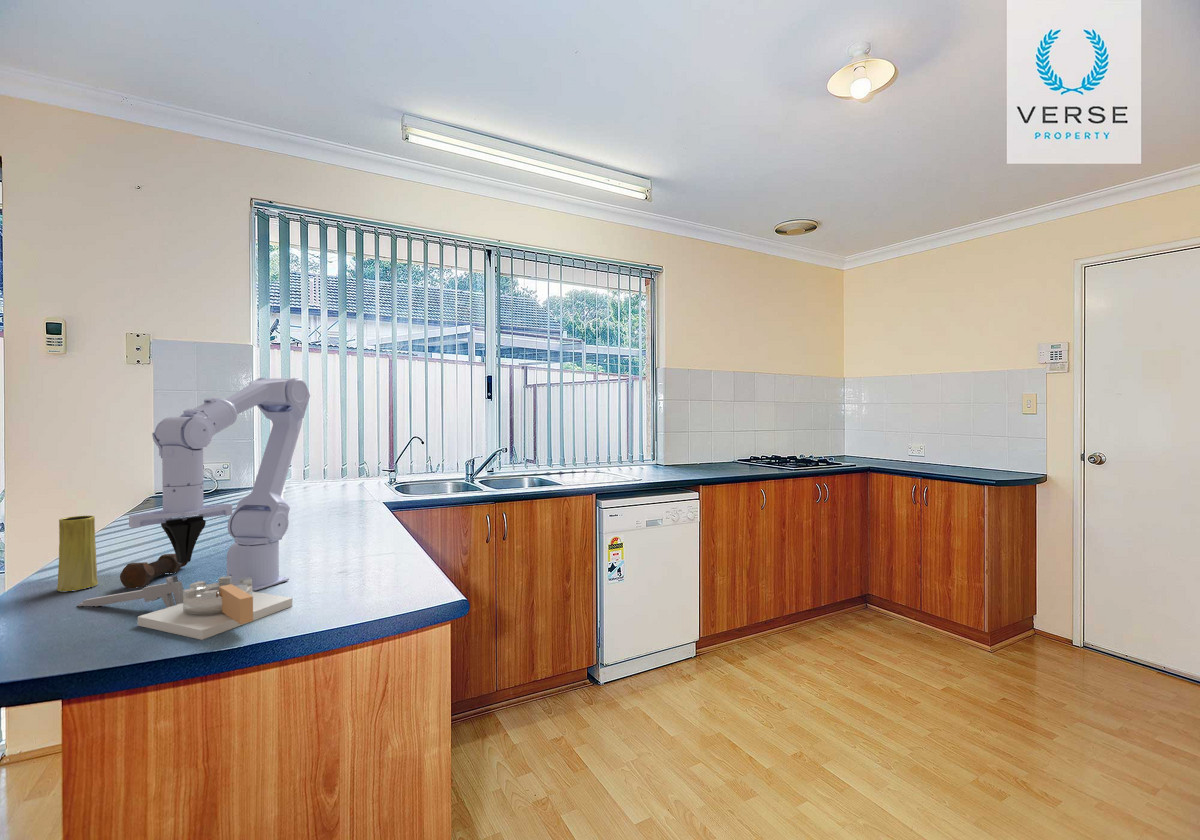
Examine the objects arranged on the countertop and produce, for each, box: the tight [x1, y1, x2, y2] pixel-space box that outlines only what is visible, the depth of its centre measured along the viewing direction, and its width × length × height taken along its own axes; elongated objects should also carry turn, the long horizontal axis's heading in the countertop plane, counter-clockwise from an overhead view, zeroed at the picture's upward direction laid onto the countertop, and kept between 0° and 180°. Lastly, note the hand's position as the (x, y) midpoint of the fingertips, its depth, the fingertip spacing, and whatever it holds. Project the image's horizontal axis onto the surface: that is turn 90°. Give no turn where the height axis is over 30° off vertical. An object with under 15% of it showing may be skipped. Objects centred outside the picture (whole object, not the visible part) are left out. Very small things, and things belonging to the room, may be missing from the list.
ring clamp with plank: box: [183, 575, 254, 625], centre depth 93 cm, size 18×10×4 cm, turn 51°
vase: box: [56, 515, 99, 592], centre depth 110 cm, size 6×6×14 cm
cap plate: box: [137, 591, 293, 641], centre depth 95 cm, size 16×16×2 cm
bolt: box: [119, 553, 189, 589], centre depth 117 cm, size 6×5×15 cm
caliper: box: [77, 575, 185, 608], centre depth 99 cm, size 20×1×6 cm, turn 85°
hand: (183, 561), depth 95 cm, fingers closed
